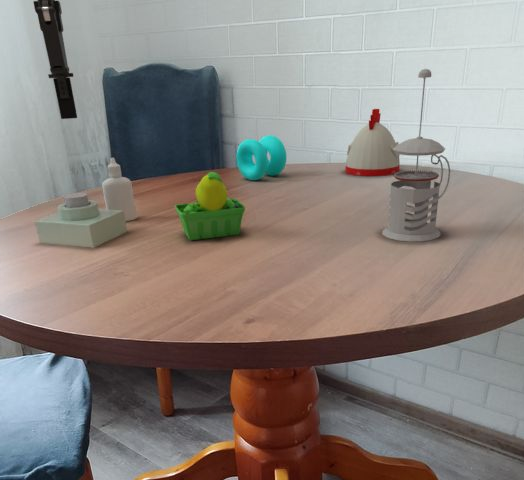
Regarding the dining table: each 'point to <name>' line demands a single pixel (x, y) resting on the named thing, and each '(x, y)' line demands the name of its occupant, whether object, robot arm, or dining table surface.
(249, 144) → the donuts
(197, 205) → the fruit basket
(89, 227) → the push button box
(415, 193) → the french press
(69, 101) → the robot arm
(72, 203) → the grayish pink short cylinder
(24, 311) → the dining table surface
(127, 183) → the eye dropper bottle
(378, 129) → the kitchen timer
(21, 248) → the dining table surface
